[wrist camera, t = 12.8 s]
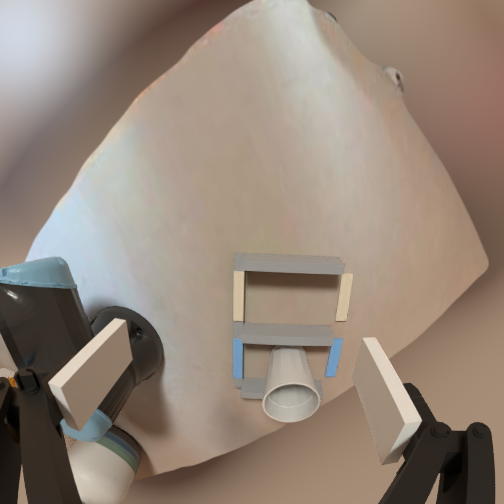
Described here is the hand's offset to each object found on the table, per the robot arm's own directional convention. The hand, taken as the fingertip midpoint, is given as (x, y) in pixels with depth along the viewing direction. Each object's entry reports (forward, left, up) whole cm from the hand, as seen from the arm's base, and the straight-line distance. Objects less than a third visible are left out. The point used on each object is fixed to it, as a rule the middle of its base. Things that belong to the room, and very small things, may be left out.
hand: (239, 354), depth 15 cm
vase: (-35, -53, -29) cm, 70 cm away
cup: (+5, -19, -29) cm, 35 cm away
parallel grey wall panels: (+5, -14, -29) cm, 32 cm away
